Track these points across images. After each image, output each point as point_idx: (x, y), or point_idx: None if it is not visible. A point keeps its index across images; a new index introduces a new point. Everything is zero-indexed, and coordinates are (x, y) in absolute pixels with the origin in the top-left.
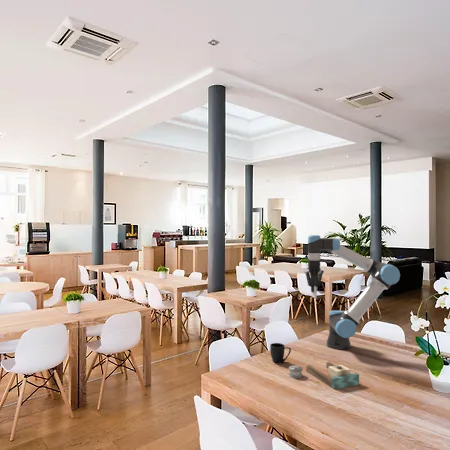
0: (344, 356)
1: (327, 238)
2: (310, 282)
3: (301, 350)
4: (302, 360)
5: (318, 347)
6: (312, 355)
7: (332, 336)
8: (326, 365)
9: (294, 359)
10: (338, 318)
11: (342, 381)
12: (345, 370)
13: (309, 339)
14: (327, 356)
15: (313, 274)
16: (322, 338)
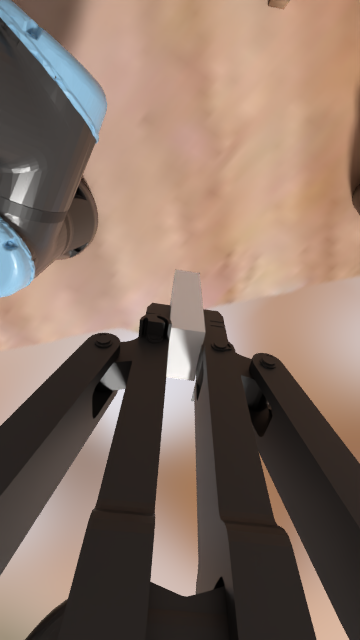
0: (110, 92)
1: None
2: (297, 401)
3: (212, 242)
4: (291, 151)
5: (136, 236)
6: (217, 177)
7: (73, 217)
8: (286, 4)
9: (306, 178)
10: (45, 140)
11: None
12: None
13: (110, 314)
14: (174, 134)
15: (292, 600)
16: (61, 302)
